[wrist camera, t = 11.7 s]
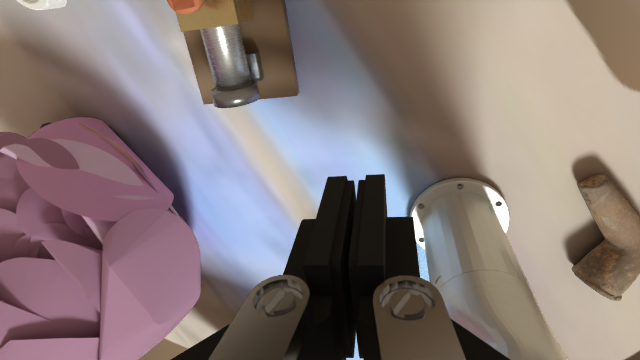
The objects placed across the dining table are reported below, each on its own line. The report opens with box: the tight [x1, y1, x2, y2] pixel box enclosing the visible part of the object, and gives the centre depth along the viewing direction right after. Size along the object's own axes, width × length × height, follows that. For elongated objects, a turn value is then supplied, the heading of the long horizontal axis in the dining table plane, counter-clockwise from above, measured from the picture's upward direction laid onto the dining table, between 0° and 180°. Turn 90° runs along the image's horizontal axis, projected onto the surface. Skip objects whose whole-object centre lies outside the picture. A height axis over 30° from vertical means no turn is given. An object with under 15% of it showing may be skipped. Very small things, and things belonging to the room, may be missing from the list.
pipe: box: [572, 174, 640, 301], centre depth 47 cm, size 6×17×10 cm
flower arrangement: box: [0, 117, 201, 360], centre depth 47 cm, size 35×24×28 cm
